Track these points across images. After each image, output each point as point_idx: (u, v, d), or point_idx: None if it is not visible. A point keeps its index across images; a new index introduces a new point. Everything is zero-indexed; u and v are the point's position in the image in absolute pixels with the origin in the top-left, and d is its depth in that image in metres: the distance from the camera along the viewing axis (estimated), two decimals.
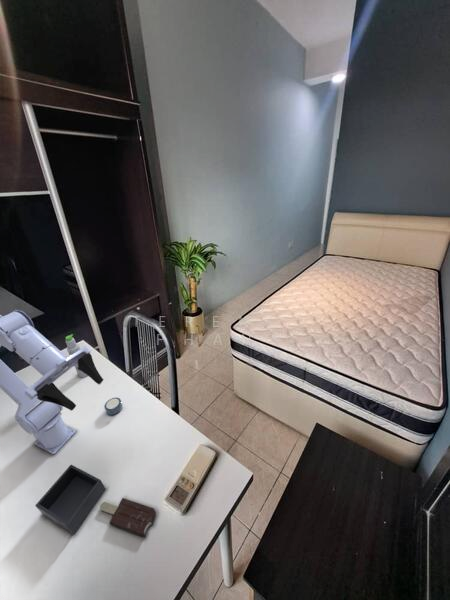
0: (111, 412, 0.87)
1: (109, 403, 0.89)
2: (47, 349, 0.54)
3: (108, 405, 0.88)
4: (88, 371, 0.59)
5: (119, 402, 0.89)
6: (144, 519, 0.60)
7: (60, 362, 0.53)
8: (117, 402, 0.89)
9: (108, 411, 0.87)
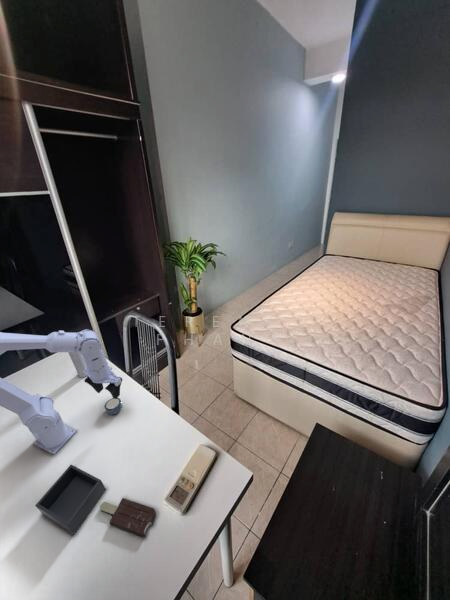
0: (111, 412, 0.87)
1: (109, 403, 0.89)
2: None
3: (108, 405, 0.88)
4: (97, 382, 0.86)
5: (119, 402, 0.89)
6: (144, 519, 0.60)
7: None
8: (117, 402, 0.89)
9: (108, 411, 0.87)
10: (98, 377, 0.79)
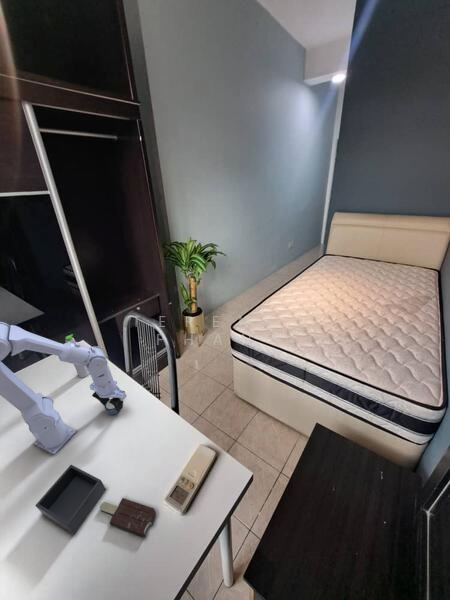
0: (111, 412, 0.87)
1: (109, 403, 0.89)
2: None
3: (108, 405, 0.88)
4: None
5: None
6: (144, 519, 0.60)
7: None
8: None
9: (108, 411, 0.87)
10: (104, 392, 0.82)
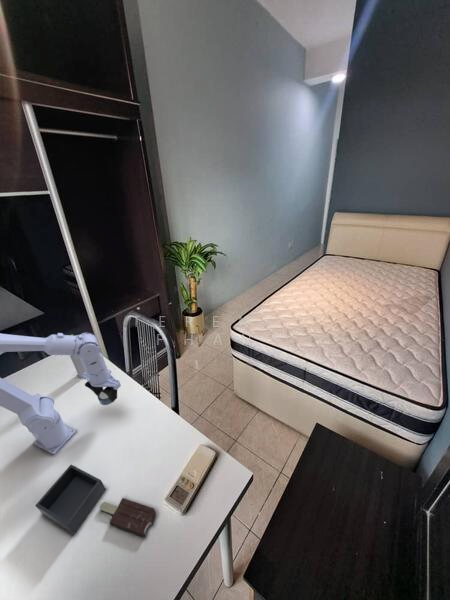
0: (104, 402, 0.83)
1: (103, 393, 0.85)
2: None
3: (101, 395, 0.84)
4: (98, 386, 0.85)
5: None
6: (144, 519, 0.60)
7: None
8: None
9: (101, 401, 0.83)
10: (97, 381, 0.78)
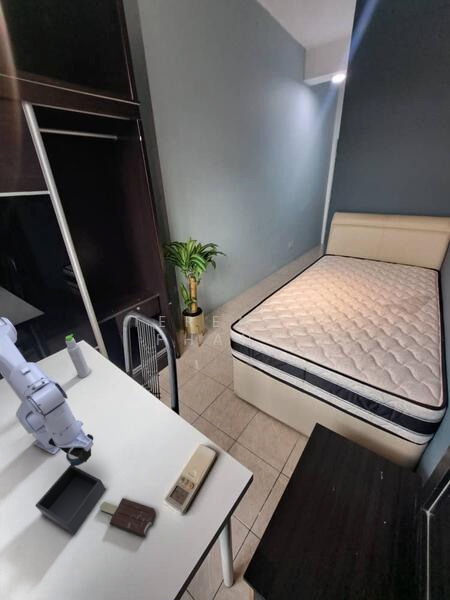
0: (75, 463, 0.65)
1: None
2: None
3: None
4: None
5: None
6: (144, 519, 0.60)
7: None
8: None
9: (70, 462, 0.65)
10: (62, 441, 0.61)
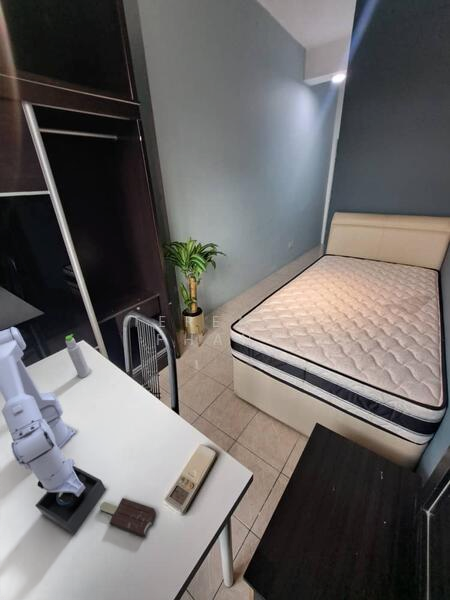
0: (65, 506, 0.61)
1: None
2: None
3: None
4: None
5: None
6: (144, 519, 0.60)
7: None
8: None
9: (61, 505, 0.61)
10: (51, 486, 0.56)
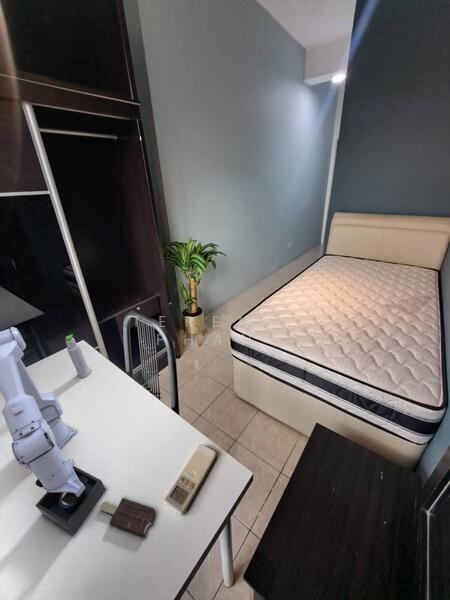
0: (68, 509, 0.62)
1: None
2: None
3: None
4: None
5: None
6: (144, 519, 0.60)
7: None
8: None
9: (63, 508, 0.62)
10: (51, 486, 0.56)
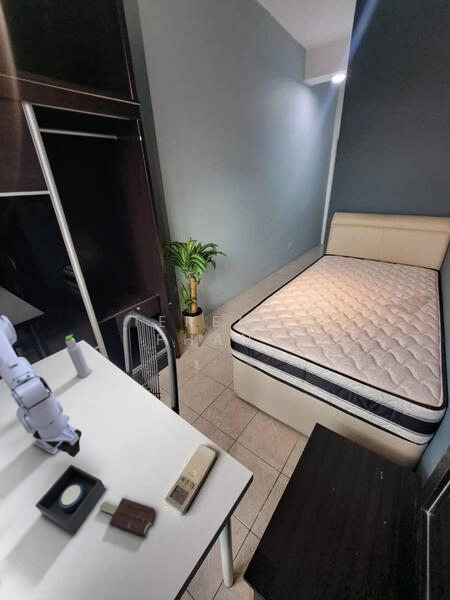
0: (68, 509, 0.62)
1: (66, 494, 0.64)
2: None
3: (64, 497, 0.63)
4: None
5: (80, 492, 0.64)
6: (144, 519, 0.60)
7: None
8: (78, 492, 0.64)
9: (63, 508, 0.62)
10: (47, 434, 0.61)
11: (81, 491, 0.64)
